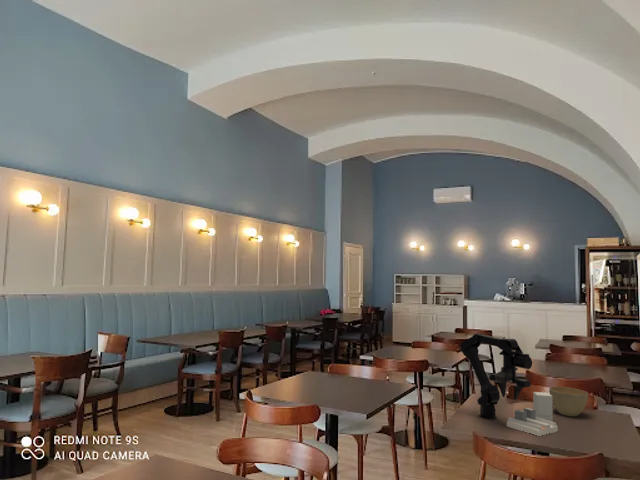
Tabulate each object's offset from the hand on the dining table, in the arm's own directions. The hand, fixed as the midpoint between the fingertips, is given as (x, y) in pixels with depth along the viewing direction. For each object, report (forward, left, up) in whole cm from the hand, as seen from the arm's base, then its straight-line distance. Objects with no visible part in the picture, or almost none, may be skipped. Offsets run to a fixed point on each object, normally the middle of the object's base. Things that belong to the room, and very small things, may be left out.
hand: (509, 398), depth 226 cm
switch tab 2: (+6, +7, -9) cm, 13 cm away
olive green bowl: (+5, +44, -12) cm, 46 cm away
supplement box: (+4, +22, -12) cm, 26 cm away
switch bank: (+10, +3, -12) cm, 16 cm away
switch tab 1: (+6, 0, -9) cm, 11 cm away
